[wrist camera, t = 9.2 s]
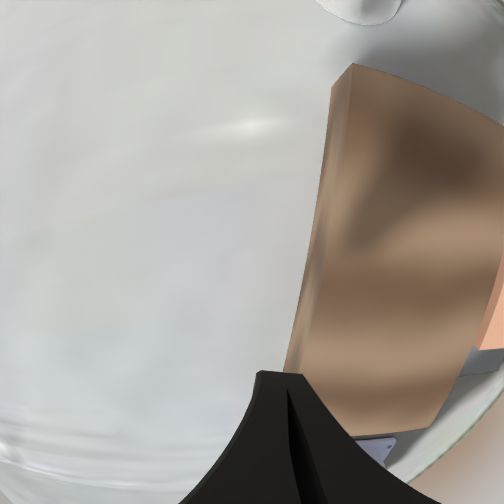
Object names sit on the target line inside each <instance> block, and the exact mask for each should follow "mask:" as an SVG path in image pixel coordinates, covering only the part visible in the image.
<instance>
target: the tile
mask: <svg viewBox="0 0 504 504" xmlns="http://www.w3.org/2000/svg"><path fill="white" fill-rule="evenodd" d="M473 345H474V346H475V347H476V348H477V349H478V350H488V349H500V348H504V249H503V254H502V258H501V262H500V266H499V269H498V273H497V277H496V280H495V284H494V287H493V290H492V293H491V297H490V300H489V303H488V306H487V309H486V311H485V314H484V317H483V320H482V322H481V325H480V328H479V330H478V333H477V335H476V338H475V340H474V343H473Z"/></svg>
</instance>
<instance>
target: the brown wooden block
mask: <svg viewBox="0 0 504 504" xmlns="http://www.w3.org/2000/svg"><path fill="white" fill-rule="evenodd" d="M503 249H504V126H502V125H500V124H499V123H497V122H495V121H493V120H492V119H490V118H488V117H486V116H485V115H483V114H481V113H479V112H477V111H475V110H473V109H471V108H469V107H467V106H465V105H463V104H461V103H459V102H457V101H455V100H453V99H451V98H449V97H447V96H444V95H442V94H440V93H438V92H435V91H433V90H431V89H428V88H426V87H423V86H421V85H418V84H416V83H413V82H410V81H408V80H405V79H402V78H399V77H397V76H394V75H391V74H388V73H385V72H382V71H378V70H375V69H372V68H369V67H365V66H362V65H358V64H355V63H352V64H351V65H350V66H349V67H348V69H347V70H346V71H345V72H344V73H343V74H342V76H341V77H340V78H339V79H338V80H337V81H336V82H335V84H334V85H333V86H332V89H331V98H330V108H329V116H328V125H327V133H326V141H325V148H324V156H323V163H322V170H321V177H320V184H319V190H318V197H317V203H316V209H315V215H314V221H313V227H312V233H311V239H310V245H309V250H308V256H307V261H306V266H305V271H304V277H303V282H302V287H301V292H300V297H299V302H298V306H297V311H296V316H295V321H294V325H293V330H292V334H291V339H290V343H289V348H288V352H287V356H286V360H285V365H284V369H283V372H285V373H298V374H303V375H304V377H305V378H306V379H307V381H308V382H309V384H310V385H311V387H312V388H313V389H314V391H315V392H316V394H317V395H318V396H319V398H320V399H321V401H322V402H323V403H324V405H325V406H326V407H327V409H328V410H329V411H330V412H331V414H332V415H333V416H334V417H335V419H336V420H337V421H338V422H339V424H340V425H341V426H342V427H343V428H344V430H345V431H346V432H347V433H348V434H349V435H350V436H360V435H374V434H384V433H394V432H402V431H409V430H416V429H422V428H428V427H430V425H431V424H432V422H433V420H434V419H435V417H436V415H437V414H438V412H439V410H440V409H441V407H442V405H443V403H444V402H445V400H446V398H447V396H448V394H449V393H450V391H451V389H452V387H453V385H454V383H455V381H456V379H457V377H458V375H459V373H460V371H461V369H462V367H463V365H464V363H465V361H466V358H467V356H468V354H469V352H470V350H471V347H472V345H473V343H474V340H475V338H476V335H477V333H478V330H479V328H480V325H481V322H482V320H483V317H484V314H485V311H486V309H487V306H488V303H489V300H490V297H491V293H492V290H493V287H494V284H495V280H496V277H497V273H498V269H499V266H500V262H501V258H502V254H503Z"/></svg>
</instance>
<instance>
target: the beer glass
mask: <svg viewBox="0 0 504 504" xmlns="http://www.w3.org/2000/svg"><path fill="white" fill-rule="evenodd" d="M316 1H317V2H318V3H319V4H320V5H321V6H322V7H323V8H325V9H326V10H327V11H329V12H330V13H332V14H333V15H335V16H337V17H339V18H341V19H343V20H346V21H349V22H352V23H356V24H361V25H378V24H382V23H385V22H387V21H389V20H390V19H391V18H392V17H393V16H394V15H395V13H396V12H397V10H398V8H399V5H400V3H401V1H402V0H316Z"/></svg>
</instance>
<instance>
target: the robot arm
mask: <svg viewBox="0 0 504 504" xmlns="http://www.w3.org/2000/svg"><path fill="white" fill-rule="evenodd" d="M395 443H396V439H395V438H394V437H392V438H383V439H373V440H360V441H354V439H353V438H352V437H351V436H350V435H349V434H348V433H347V432H346V431H345V430H344V428H343V427H342V426H341V425H340V424H339V422H338V421H337V420H336V419H335V417H334V416H333V415H332V414H331V412H330V411H329V410H328V409H327V407H326V406H325V405H324V403H323V402H322V401H321V399H320V398H319V396H318V395H317V394H316V392H315V391H314V389H313V388H312V387H311V385H310V384H309V382H308V381H307V379H306V378H305V377H304V375H303V374H298V373H285V372H274V371H264V370H261V371H259V372H257V373H256V378H255V384H254V389H253V394H252V399H251V401H250V403H249V406H248V408H247V410H246V413H245V415H244V417H243V419H242V421H241V423H240V425H239V426H238V428H237V430H236V432H235V434H234V435H233V437H232V439H231V440H230V442H229V444H228V445H227V447H226V448H225V450H224V451H223V453H222V454H221V456H220V457H219V458H218V460H217V461H216V462H215V464H214V465H213V466H212V468H211V469H210V470H209V471H208V473H207V474H206V475H205V476H204V477H203V478H202V480H201V481H200V482H199V483H198V484H197V485H196V487H195V488H194V489H193V490H192V491H191V492H190V493H189V494H188V495H187V496H186V497H185V498H184V499H183V500H182V501H181V502H180V503H179V504H441V503H439V502H437V501H435V500H433V499H431V498H429V497H427V496H425V495H423V494H422V493H420V492H418V491H417V490H415V489H413V488H412V487H410V486H409V485H407V484H406V483H404V482H403V481H401V480H400V479H398V478H397V477H395V476H394V475H393V474H391V473H390V472H389V471H387V470H386V467H385V464H384V462H383V461H384V460H385V458H386V457H387V455H388V454H389V452H390V451H391V449H392V448H393V446H394V445H395Z"/></svg>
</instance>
